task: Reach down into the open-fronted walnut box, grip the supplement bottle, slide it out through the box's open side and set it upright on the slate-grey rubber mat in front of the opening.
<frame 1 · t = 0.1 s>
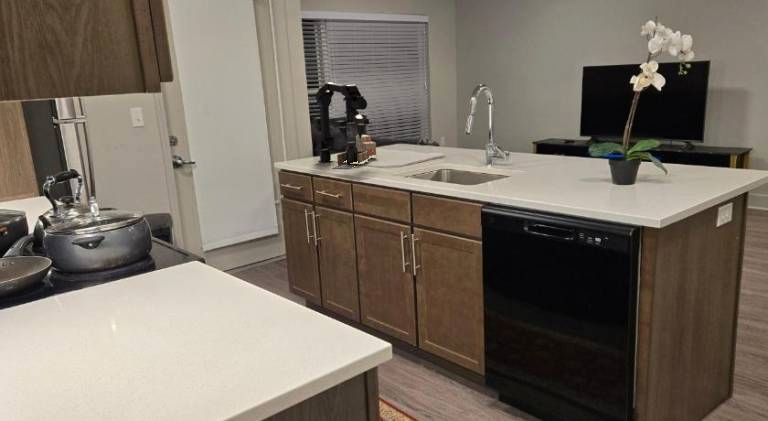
hand: (353, 139, 305), 15 cm above the counter, fingers open, 9 cm apart
supplement bottle: (352, 164, 316), resting in open box
stack of blocks: (366, 157, 340), on the counter
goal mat: (344, 167, 306), on the counter
open box: (352, 163, 316), on the counter
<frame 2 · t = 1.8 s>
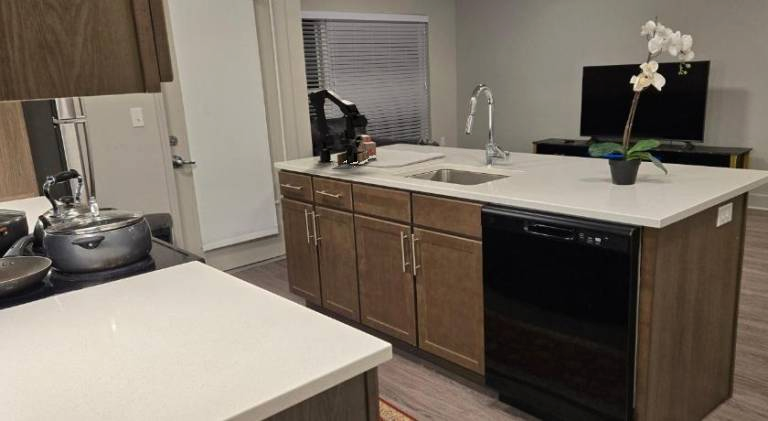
hand: (352, 155, 315), 5 cm above the counter, fingers closed on supplement bottle, 7 cm apart
supplement bottle: (352, 164, 316), resting in open box, touching gripper
everything else where it was.
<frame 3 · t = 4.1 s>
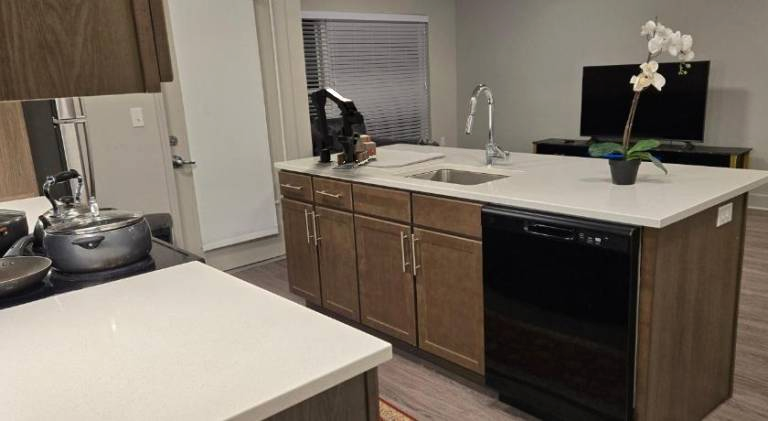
hand: (349, 153, 312), 6 cm above the counter, fingers closed on supplement bottle, 7 cm apart
supplement bottle: (350, 161, 313), point 2 cm above the counter, touching gripper
everything else where it was.
when the fingers open (6 cm above the counter, at t = 6.6 s): supplement bottle stays where it is, resting on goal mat.
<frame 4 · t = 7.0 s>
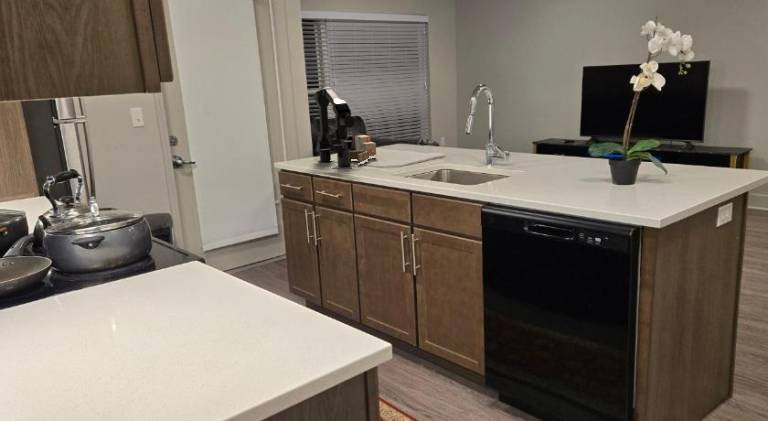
hand: (343, 156, 305), 6 cm above the counter, fingers open, 9 cm apart
supplement bottle: (344, 166, 306), resting on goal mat
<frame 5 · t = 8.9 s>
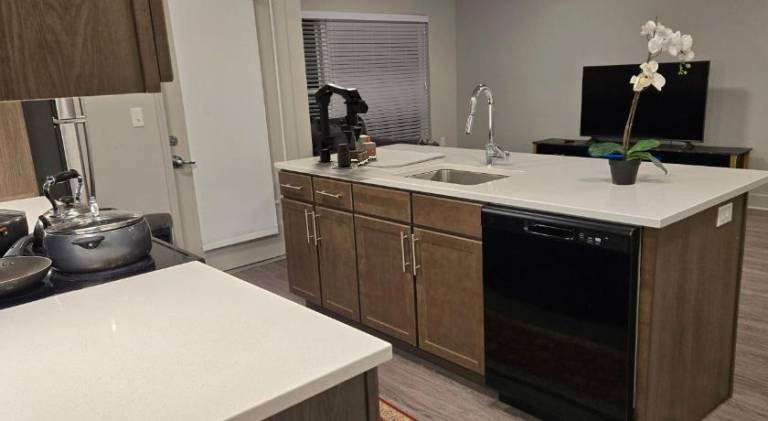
hand: (353, 142, 307), 12 cm above the counter, fingers open, 9 cm apart
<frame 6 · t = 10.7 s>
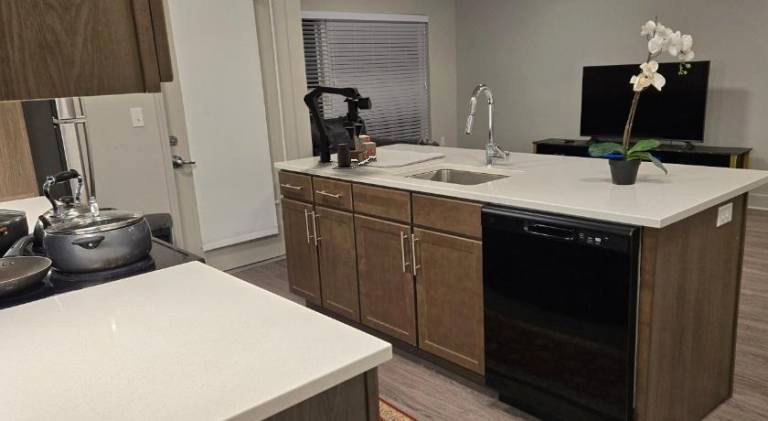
hand: (354, 138, 320), 13 cm above the counter, fingers open, 9 cm apart
at the end: supplement bottle inside the target area on the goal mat (0.1 cm from its centre), point 0.2 cm above the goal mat's base; supplement bottle tilted 0°; the gripper is holding nothing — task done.
